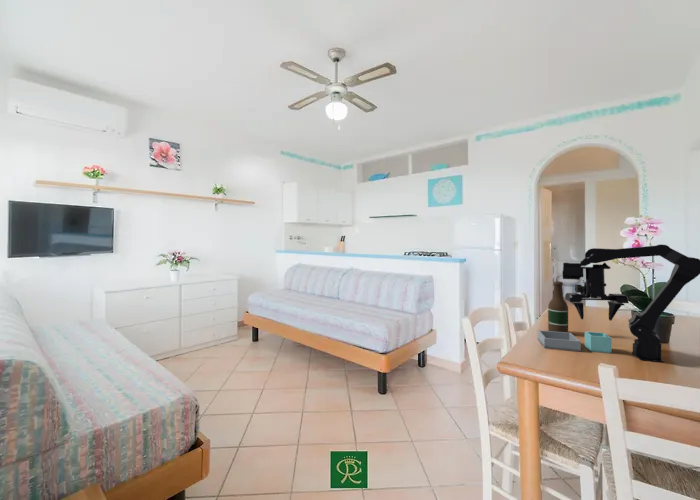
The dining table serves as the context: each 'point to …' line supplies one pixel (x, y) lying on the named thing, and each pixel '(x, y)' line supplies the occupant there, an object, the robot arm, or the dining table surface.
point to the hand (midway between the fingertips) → (595, 319)
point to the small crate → (598, 342)
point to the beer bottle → (558, 310)
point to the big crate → (559, 341)
